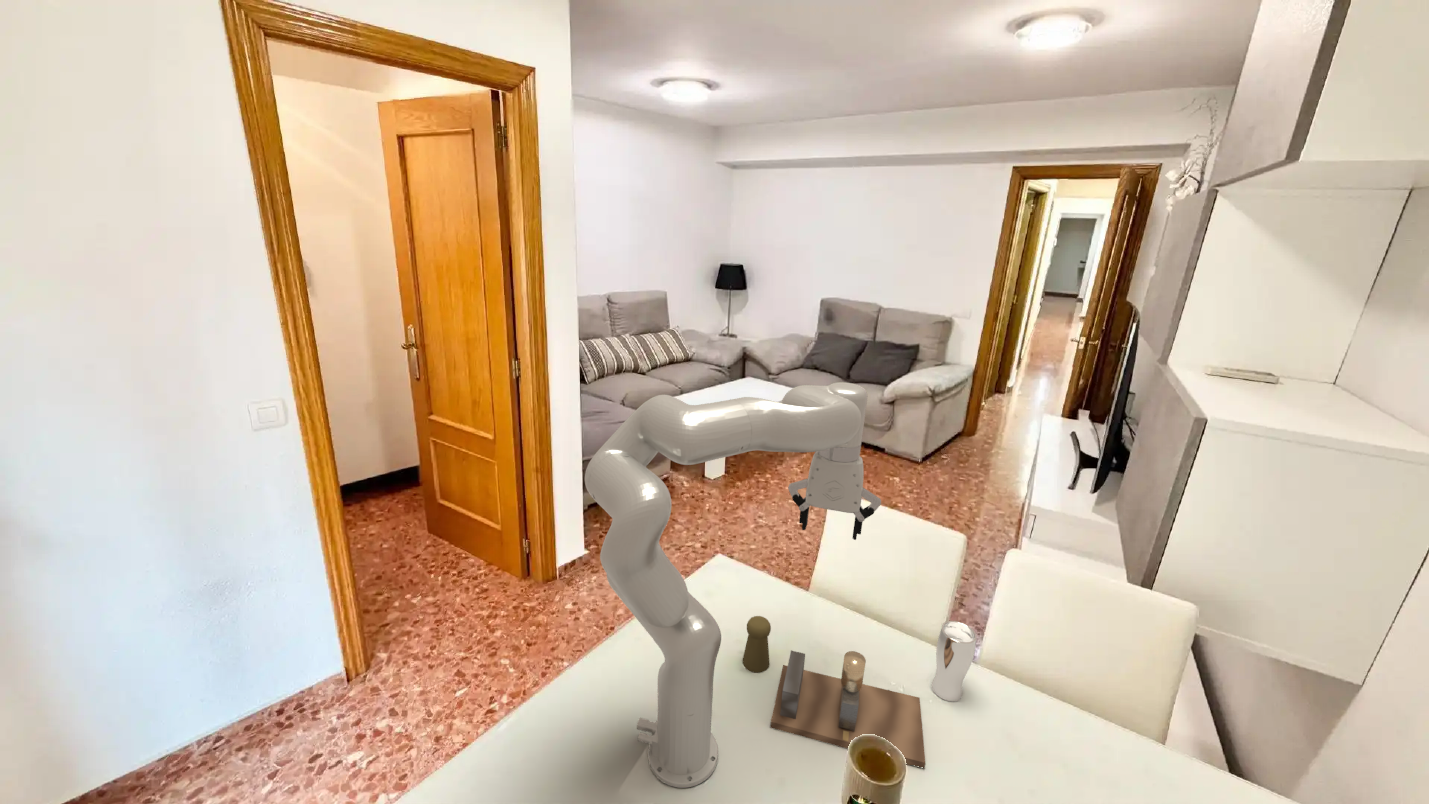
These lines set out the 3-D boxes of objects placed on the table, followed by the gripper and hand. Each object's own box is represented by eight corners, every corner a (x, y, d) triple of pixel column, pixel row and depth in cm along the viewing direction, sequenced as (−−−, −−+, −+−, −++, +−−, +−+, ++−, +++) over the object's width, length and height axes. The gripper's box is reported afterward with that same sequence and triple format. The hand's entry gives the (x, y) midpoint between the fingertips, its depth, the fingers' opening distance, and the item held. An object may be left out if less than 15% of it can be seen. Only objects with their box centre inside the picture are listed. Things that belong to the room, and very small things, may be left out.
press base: (770, 727, 106) (773, 696, 103) (782, 670, 119) (785, 642, 117) (924, 769, 99) (930, 737, 96) (918, 703, 112) (924, 674, 110)
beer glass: (964, 684, 118) (977, 626, 113) (964, 708, 112) (977, 648, 107) (930, 673, 120) (941, 615, 116) (927, 696, 114) (939, 636, 110)
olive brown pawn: (768, 675, 118) (771, 633, 115) (740, 670, 119) (743, 628, 116) (771, 655, 124) (774, 614, 120) (744, 650, 125) (747, 609, 121)
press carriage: (835, 726, 104) (842, 675, 101) (839, 686, 113) (845, 638, 110) (857, 732, 103) (865, 681, 100) (859, 691, 112) (866, 643, 109)
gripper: (789, 449, 100) (781, 532, 105) (887, 464, 96) (874, 550, 101) (795, 436, 107) (788, 514, 112) (887, 449, 103) (875, 530, 108)
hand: (829, 531), depth 107 cm, fingers open, 9 cm apart
